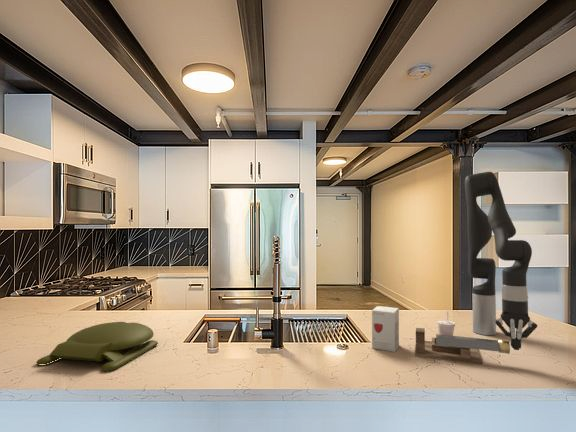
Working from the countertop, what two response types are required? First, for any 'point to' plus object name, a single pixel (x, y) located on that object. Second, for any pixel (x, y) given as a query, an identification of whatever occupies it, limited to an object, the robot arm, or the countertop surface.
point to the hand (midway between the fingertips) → (515, 349)
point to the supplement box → (385, 328)
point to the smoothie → (446, 327)
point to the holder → (443, 350)
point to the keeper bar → (474, 343)
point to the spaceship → (104, 344)
